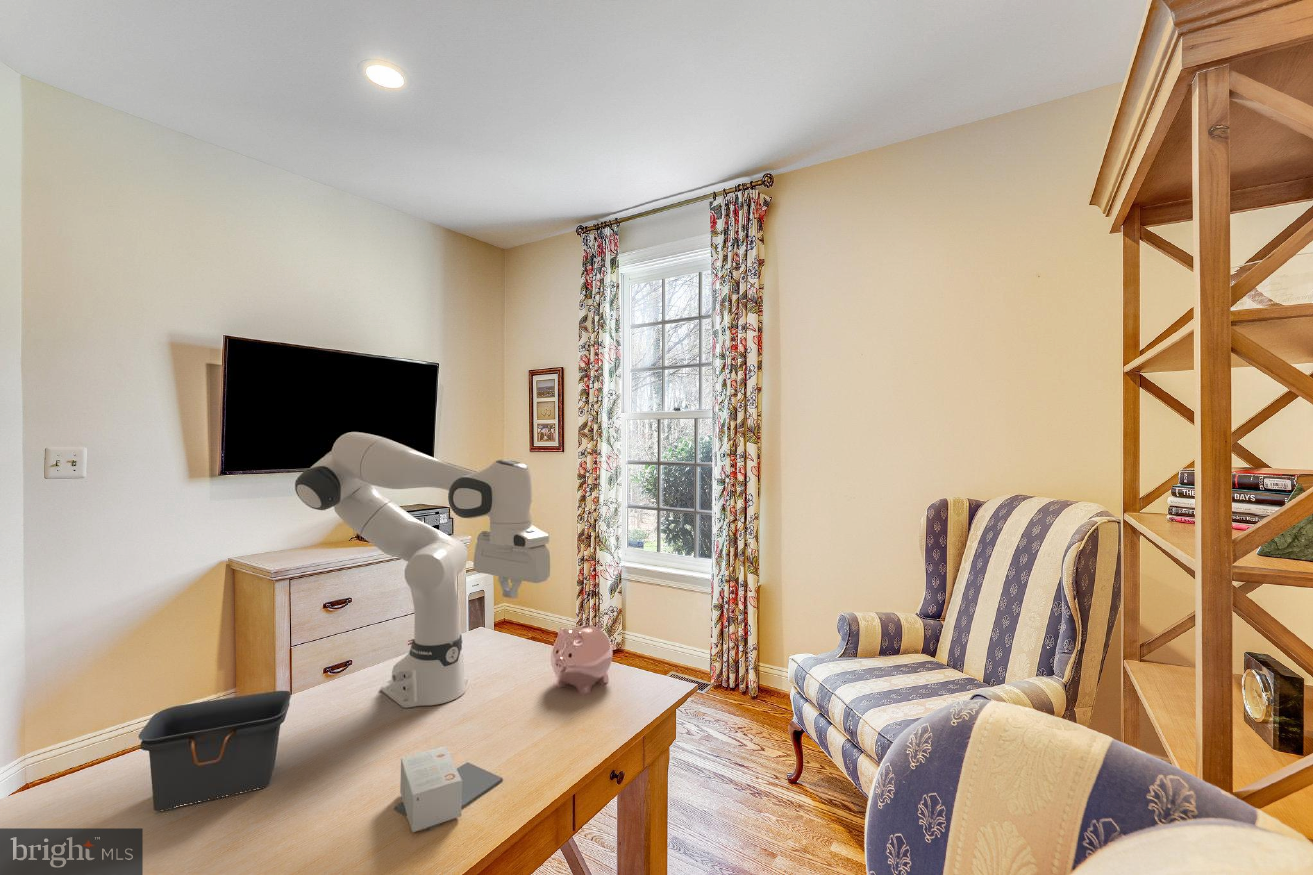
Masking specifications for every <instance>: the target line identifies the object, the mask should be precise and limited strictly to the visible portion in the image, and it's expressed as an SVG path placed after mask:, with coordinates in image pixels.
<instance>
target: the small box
mask: <svg viewBox="0 0 1313 875" xmlns="http://www.w3.org/2000/svg"><path fill="white" fill-rule="evenodd" d="M399 783H400V784H399V785H400V786H399V787H400V789H399V793H400V796H401V799H402V802H403V803H404V807H405V810H406V813H407V817H406V818H407V820H408V824H409V826H410V830H411V832H412V834H413V833H416V832H419V831H422V830H424V829H427V828H428V827H431V826H434V825H436V824H439V823H441V824H443V823H445V822H447V821H452V820H454V819H456V818H459V817H461V816H462V809H461V803H462V779H461V777H460V775H459V773H458V771H457V767H456V766H455V763H454V761H453V758H452V757H451V754H450V752H449V750H448V748H447V746H446V745H444V746H439V747H437V748H433V749H429V750H425V751H422V752H418V753H415V754H412V755H408V756H403V757H401V758H400V782H399ZM439 825H440V824H439Z"/></svg>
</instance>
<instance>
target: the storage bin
mask: <svg viewBox="0 0 1313 875" xmlns="http://www.w3.org/2000/svg"><path fill="white" fill-rule="evenodd" d="M291 697H292V692H291V691H289V690H275V691H274V690H273V691H270V692H269V691H267V692H259V693H253V694H248V695H247V694H246V695H240V696H232V697H227V698H219V699H213V700H205V701H199V702H193V703H187V704H179V705H176V706H175V705H174V706H172V707H171V706H170V707H168V708H164V709H162V710H160V711H158V712H156V713H155V714H153V715H152V716H151V718H150V719H149V720H148V722H146V725H144V727H143V728H142V729H141V731H140V732H139V734H138V736H137V737H138V739H139V740H141V742H140V749H141V750H142V751H144V752H145V751H146V752H148V754H149V765H150V777H151V778H150V779H151V789H152V790H151V791H152V800H153V801H152V802H153V810H154V811H155V812H162V811H161V810H165V811H167V810H166V809H169V808H173V809H175V808H174V807H176V806H180V805H184V804H190V803H195V802H198V801H204V800H208V799H213V800H215V799H214V798H217V797H221V798H223V797H222V796H226V795H231V796H233V795H232V794H235V795H237V794H236V793H240V792H245V791H249V790H254V789H257V788H262V789H264V788H263V787H265V788H267V785H268V786H269V784H270V783H271V779H272V775H273V772H274V767H275V765H276V764H275V763H276V758H277V751H278V743H279V736H280V732H281V725H282V724H283V723H284V722H285V719H286V717H287V713H288V710H289V707H290V701H291ZM254 791H255V790H254ZM249 792H250V791H249ZM245 793H246V792H245ZM240 794H241V793H240ZM226 797H227V796H226ZM217 799H218V798H217ZM208 801H209V800H208ZM204 802H205V801H204ZM195 804H196V803H195ZM169 810H170V809H169Z"/></svg>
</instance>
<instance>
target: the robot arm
mask: <svg viewBox="0 0 1313 875" xmlns="http://www.w3.org/2000/svg"><path fill="white" fill-rule="evenodd" d="M375 486H376V487H380V488H384V489H390V490H408V489H418V488H419V489H420V488H421V489H422V488H434V489H435V488H437V489H442V490H446V491H448V495H447V500H448V505H449V507H450V509H451V511H452V512H453V513H454V514H455V515H456V516H458V517H460V518H463V519H476V518H477V519H478V518H481V517H482V518H483V517H489V531H487V530H483V531H481V532H480V533H479V534H478V535H477V539H476V544H475V547H474V553H473V554H474V556H473V569H474V572H475V573H479V574H480V573H481V574H485V575H491V576H495V577H496V576H497V577H498V579H497V581H498V583H499V586H500V588H501V590H502V591H501V592H502V593H501V596H502V597H503V598H508V599H512V600H513V599H516V598H518V595H519V593H518V590H519V588H520V587H521V585H522V584H523V582H528V583H532V584H533V583H534V584H540V583H543V582H546V581H547V580H548V579H549V577H550V575H551V554H550V550H549V548H548V546H547V545H548V544H549V542H550V536H549V534H547V533H546V532H544V531H543V530H541V529H539V528H537V527H536V526H534V525H533V524H532V515H531V511H530V510H531V505H532V501H533V500H532V499H533V498H532V496H533V495H532V494H533V491H532V478H531V473H530V468H529V467H528V466H527V464H524V463H523V462H519V461H515V460H508V459H499V460H495V461H494V462H492V464H490V465H489V466H488V467H485V468H484V469H482V470H479V471H476V470H472V469H469V468H466V467H463V466H460V465H456V464H452V463H449V462H446V461H443V460H440V459H437V458H435V457H433V456H430V455H428V454H425V453H424V452H421V451H418V450H416V449H414V448H412V447H410V446H407V445H405V444H402V443H399V442H397V441H394V440H392V439H389V438H387V437H384V436H380V435H375V434H371V433H367V432H366V433H365V432H359V431H351V432H346V433H344V434H342V435H340V436H339V437H338V438H337V439H336V440H335V442H334V443H333V446H332V448H331V450H330V451H329V452H327V453H325V455H324V456H323V457H321V458H320V459H319V460H318V461H317V462H315V463H314V464H312V466H311V467H309V468H306V469H305V470H304V471H303V472H302V473H301V474H300V475H298V477H297V478H296V479H295V482H294V490H295V492H296V495H297V496H298V499H300V501H301V502H302V503H303V504H305V505H306V506H307V507H309V508H311V509H313V510H318V511H325V510H328V509H330V508H333V510H334V512H335V514H336V515H338V517H339V518H340V520H342V521H343V522H344V523H345V524H346V525H347V526H348V527H349V528H350V529H351V530H353V531H354V532H355V533H356V534H357V535H359V536H360V537H362V538H363V539H365V540H366V541H367V542H369V544H372V545H373V546H374V547H375V548H377V549H378V550H380V551H381V552H382V553H383V554H385V555H387V556H391V557H396V558H397V559H400V560H403V561H404V562H405V561H406V562H407V563H406V565H405V569H404V579H405V580H404V581H405V582H406V584H407V585H408V586H409V588H410V593H411V597H412V602H413V608H414V609H413V610H414V638H413V639H409V640H408V641H407V642H409V643H407V646H410V650H409V652H408V653H407V654H406V655H405V656H404V657H402V658H401V659H400V660H399V661H397V662H396V663H395V664H394V665H393V667H392V669H391V670H392V671H391V678H390V680H388V681H386V682H384V683H383V684H382V685H381V688H380V691H381V692H382V693H384V694H385V695H386V696H388V697H389V698H390V699H392V700H393V701H394V702H396V703H397V704H398V705H399V706H401V707H402V708H405V709H407V708H415V707H420V706H422V707H423V706H434V705H441V704H445V703H448V702H452V701H453V700H455V699H458V698H460V697H461V696H462V695H463V694H464V693H465V692H466V691H467V686H466V684H467V682H468V676H467V675H465V674H466V672H465V671H466V670H465V662H464V653H463V652H462V649H463V646H462V645H463V636H462V634H461V611H462V610H461V604H460V602H459V600H458V599H459V598H458V594H457V588H456V587H457V586H456V578H457V576H458V575H459V574H460V573H462V571H463V570H464V568H465V567H466V565H467V561H468V556H469V554H468V553H469V551H468V549H467V546H466V545H465V544H464V542H462V541H461V540H460V539H458V538H456V537H452V536H450V535H448V534H445V533H444V532H442V531H441V530H439V529H437V528H434V527H433V526H431V525H429V524H427V523H425V522H423V521H422V520H419V519H418V518H416V517H414V516H413V515H412V514H410V513H409V512H407V511H406V510H405V509H403V508H402V507H400V506H399V505H398V504H396V503H395V502H394V501H393V500H391V499H389V498H388V497H386V496H385V495H384V494H381V492H379V491H378V490H377V489H376V488H375ZM509 580H510V581H509Z"/></svg>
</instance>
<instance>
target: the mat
mask: <svg viewBox="0 0 1313 875" xmlns="http://www.w3.org/2000/svg"><path fill="white" fill-rule="evenodd" d="M456 769H457V771H458V773H459V775H460V777H461V779H462V803H461V810H463V809H464V808H466V807H467V806H469V805H470V804H471V803H473V802H474V801H475V800H477V799H479V798H480V797H481V796H483V795H484V794H486V793H487V792H489V791H490V790H491V789H493V788H495V787H496V786H497V785H499V784H500V783H502V782H503V781H504V779H503V777H501V776H499V775H497V774H494V773H493V772H490V771H488V770H486V769H484V768H482V767H480V766H477V765H475V764H473V763H471V762H468V761H467V762H465V763H464V764H462V765H460V766H459V767H456ZM393 810H395V811H396V812H398V813H399V814H401V815H403V816H405V817H406V818H408V817H407V813H406V810H405V807H404V803H403V801H401V802H399V803H398V804H396V805H395V806H393ZM440 824H442V823H439V824H436V825H434V826H431V827H428V828H426V829H427V830H429V831H432V830H434V829H435V828H437V827H438V826H439V825H440Z"/></svg>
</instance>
